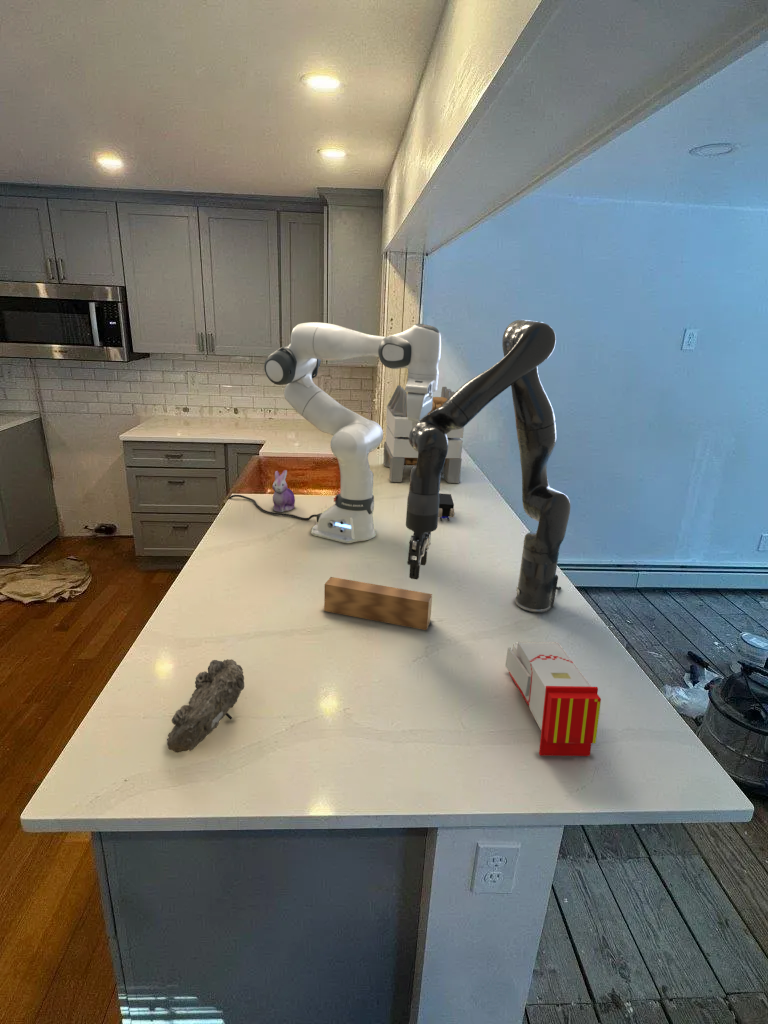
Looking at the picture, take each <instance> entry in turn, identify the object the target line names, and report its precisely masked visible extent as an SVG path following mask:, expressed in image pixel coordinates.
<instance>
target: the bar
mask: <svg viewBox="0 0 768 1024" xmlns="http://www.w3.org/2000/svg"><path fill="white" fill-rule="evenodd" d="M323 592H324V593H323V594H324V600H323V601H324V602H323V603H324V604H323V605H324V606H323V607H324V608H323V609H324V612H327V613H333V614H338V615H343V616H348V617H354V618H359V619H364V620H370V621H374V622H380V623H386V624H391V625H397V626H403V627H407V628H412V629H418V630H424V631H428V628H429V625H430V623H431V619H432V618H431V615H432V605H433V593H428V592H422V591H415V590H410V589H406V588H405V589H404V588H399V587H392V586H387V585H381V584H376V583H375V584H374V583H370V582H363V581H359V580H358V581H357V580H351V579H346V578H340V577H334V576H330V577H329V578H328V579H327V581H326V582H324V591H323Z"/></svg>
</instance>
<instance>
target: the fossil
mask: <svg viewBox="0 0 768 1024" xmlns="http://www.w3.org/2000/svg"><path fill="white" fill-rule="evenodd" d="M243 670H244V669H243V667H242V665H240V664H237V662H236V661H235V660H234V659H232V658H231V659H227V658H226V659H224V660H223V661H222V660H217V659H212V660H211V661H210V663H209V665H208V666H207V671H201V672H199V673H198V674H197V675H196V676H195V680H194V684H195V685H194V687H195V689H194V690H193V693H192V694H191V697H190V698H189V700H188V704H184V705H182V706H181V707H180V709H177V710H176V711H175V713H174V715H173V716H172V718H171V723H172V724H173V727H172V730H171V731H170V732H168V734H167V738H166V741H167V742H166V745H167V749H168V750H169V751H173V752H174V753H176V754H178V753H182V752H188V751H189V752H192V751H193V750H195V748H196V747H197V746H199V744H200V743H201V742H203V741H204V740H205V739H206V738H207V737H208V736H209V735H210V734H211V733H212V732H214V730H215V729H217V727H218V726H219V724H220V722H221V721H222V720H223V719H224V718H225V716H226V717H227V719H229V720H233V717H232V715H230V714H229V710H230V709H231V708H234V706H235V704H236V703H237V702H238V699H239V697H240V695H241V693H242V691H243V690H245V689H244V688H245V675H244V671H243Z"/></svg>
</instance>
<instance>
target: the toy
mask: <svg viewBox="0 0 768 1024" xmlns="http://www.w3.org/2000/svg"><path fill="white" fill-rule="evenodd" d="M511 646H512V647H508V648H507V653H506V658H505V659H506V660H505V668H506V669H507V671H508V675H509V676H510V677H511V679H512V681H513V682H514V684H515V686H516V688H517V689H518V691H519V693H520V694H521V696H522V698H523V700H524V702H525V703H526V705H527V706H528V708H529V710H530V712H531V715H532V716H533V718H534V720H535V722H536V723H537V724H536V725H537V726H538V727H539V730H540V731H541V733H540V739H539V740H540V741H539V749H538V751H539V752H538V754H539V756H543V757H548V756H550V757H551V756H552V757H553V756H554V757H568V756H569V757H591V751H592V744H596V743H597V734H598V726H599V717H600V710H601V702H602V698H601V697H600V696H599V694H598V693H599V688H598V686H592V684H590V682H589V681H588V680H587V678H586V677H585V676H584V675H583V673H582V672H581V671H580V669H579V668H578V667H577V665H576V664H575V663H574V661H573V660H572V659H571V658H570V656H569V655H568V654H567V652H566V651H565V649H564V647H562V645H561V644H560V643H559V642H553V641H551V642H549V641H548V642H547V641H546V642H545V641H517V642H512V645H511Z"/></svg>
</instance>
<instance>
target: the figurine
mask: <svg viewBox="0 0 768 1024" xmlns="http://www.w3.org/2000/svg"><path fill="white" fill-rule="evenodd" d="M287 475H288V470H287V469H284V470H283V471H282V472H281V474H280V472H279V471H278V470H275V471H274V481H273V484H272V490H273V491H274V492H273V495H272V503H273V511H274V512H277V513H284V512H289V511H291V510H293V509H294V508H295V504H296V497H295V493H294V492H293V490H291V489H290V488H288V483H287V482H286V478H287Z"/></svg>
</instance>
